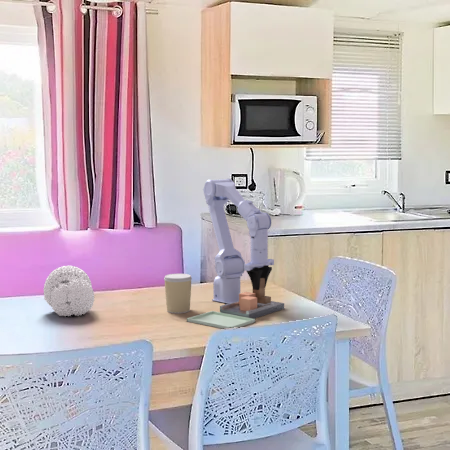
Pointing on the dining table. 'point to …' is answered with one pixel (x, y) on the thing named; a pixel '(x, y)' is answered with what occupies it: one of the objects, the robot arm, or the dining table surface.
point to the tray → (220, 320)
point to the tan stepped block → (262, 293)
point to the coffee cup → (178, 292)
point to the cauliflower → (69, 291)
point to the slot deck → (253, 313)
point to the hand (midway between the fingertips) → (259, 288)
